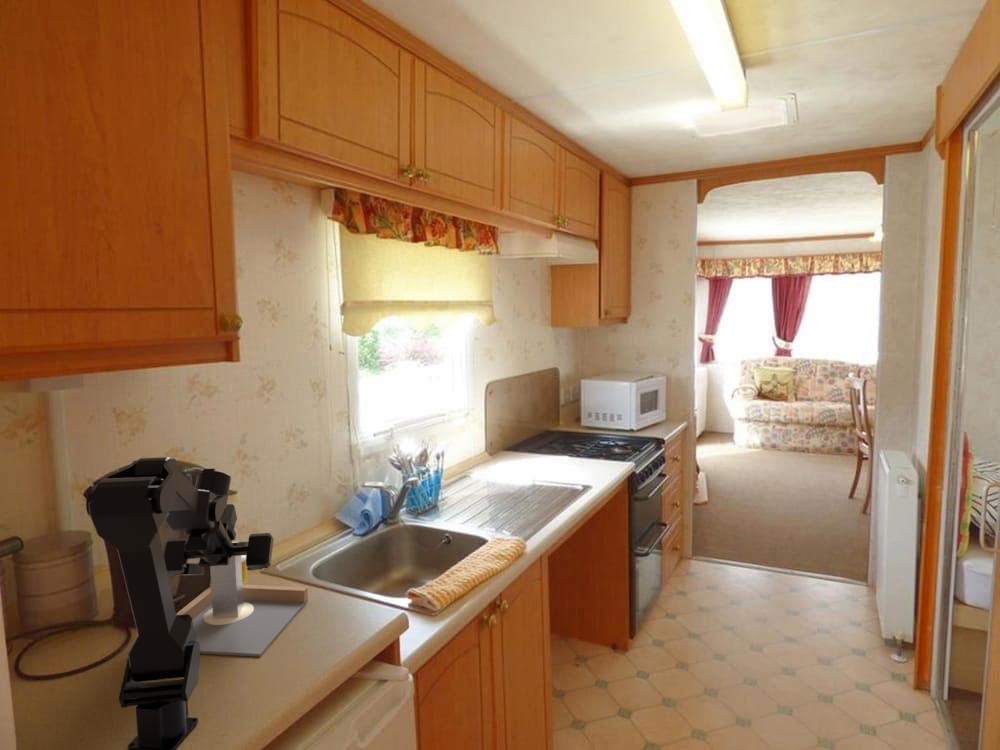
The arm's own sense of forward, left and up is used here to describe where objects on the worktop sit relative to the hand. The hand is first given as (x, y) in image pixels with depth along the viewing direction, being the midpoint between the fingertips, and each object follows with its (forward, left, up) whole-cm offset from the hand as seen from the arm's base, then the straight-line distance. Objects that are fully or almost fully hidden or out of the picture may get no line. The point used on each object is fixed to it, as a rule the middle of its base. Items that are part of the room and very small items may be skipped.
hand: (228, 570), depth 119 cm
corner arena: (-4, -3, -9) cm, 10 cm away
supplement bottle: (+10, +5, -9) cm, 14 cm away
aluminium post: (-1, 0, -8) cm, 8 cm away
